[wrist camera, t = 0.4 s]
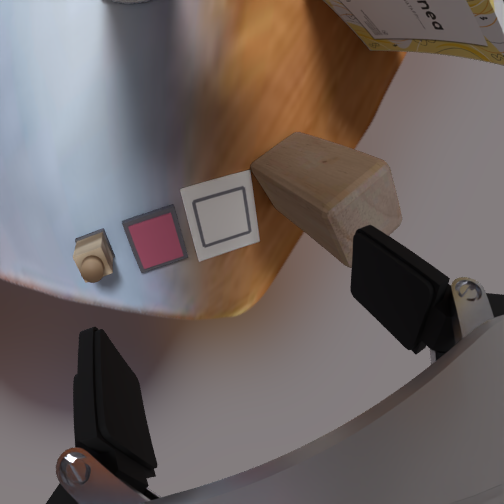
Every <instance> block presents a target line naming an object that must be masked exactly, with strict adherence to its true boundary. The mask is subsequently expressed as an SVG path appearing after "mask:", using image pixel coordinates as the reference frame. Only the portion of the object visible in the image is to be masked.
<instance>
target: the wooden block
mask: <svg viewBox="0 0 504 504" xmlns="http://www.w3.org/2000/svg"><path fill="white" fill-rule="evenodd" d="M250 166H251V170H252V172H253V174H254V176H255V177H256V179H257V180H258V182H259V183H260V185H261V186H262V188H263V190H264V191H265V193H266V194H267V196H268V197H269V199H270V201H271V202H272V204H273V205H274V207H275V209H277V210H278V211H279V212H280V213H282V214H283V215H284V216H286V217H287V218H288V219H289V220H291V221H292V222H293V223H294V224H295V225H297V226H298V227H299V228H300V229H302V230H303V231H304V232H305V233H307V234H308V235H309V236H310V237H311V238H313V239H314V240H315V241H316V242H318V243H319V244H320V245H321V246H322V247H324V248H325V249H326V250H327V251H328V252H330V253H331V254H332V255H333V256H334V257H336V258H337V259H338V260H339V261H340V262H341V263H343V264H344V265H345V266H347V267H350V268H352V252H353V236H354V235H355V232H356V230H358V229H360V228H362V227H365V226H367V225H372V226H374V227H375V228H377V229H379V230H380V231H382V232H383V233H385V234H386V235H388V236H389V235H390V234H391V233H392V232H393V231H394V230H395V229H396V228H397V227H399V225H400V224H401V221H402V215H401V211H400V206H399V202H398V198H397V193H396V190H395V185H394V181H393V178H392V174H391V170H390V167H389V166H388V164H387V163H386V162H385V161H384V160H382V159H379V158H376V157H374V156H371V155H368V154H366V153H363V152H360V151H357V150H355V149H352V148H349V147H346V146H343V145H340V144H337V143H334V142H331V141H328V140H324V139H321V138H318V137H315V136H311V135H308V134H305V133H301V132H295V133H293V134H292V135H290V136H289V137H287V138H286V139H284V140H283V141H282V142H280V143H279V144H277V145H276V146H275V147H273V148H272V149H270V150H269V151H268V152H266V153H265V154H263V155H262V156H261V157H259V158H258V159H257V160H255V161H254V162H253V163H252V164H251V165H250Z"/></svg>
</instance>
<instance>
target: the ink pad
mask: <svg viewBox="0 0 504 504" xmlns="http://www.w3.org/2000/svg"><path fill="white" fill-rule="evenodd" d="M122 224H123V227H124V230H125V233H126V235H127V238H128V241H129V243H130V246H131V248H132V251H133V254H134V256H135V259H136V261H137V264H138V266H139V268H140V271H141V273H143V272H146V271H149V270H152V269H155V268H158V267H161V266H164V265H167V264H170V263H173V262H176V261H179V260H182V259H185V258H188V254H187V251H186V247H185V244H184V240H183V237H182V233H181V230H180V226H179V223H178V219H177V215H176V212H175V208H174V205H173V204H172V205H169V206H166V207H163V208H160V209H157V210H154V211H151V212H148V213H145V214H142V215H139V216H136V217H133V218H130V219H127V220H124V221H122Z"/></svg>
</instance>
